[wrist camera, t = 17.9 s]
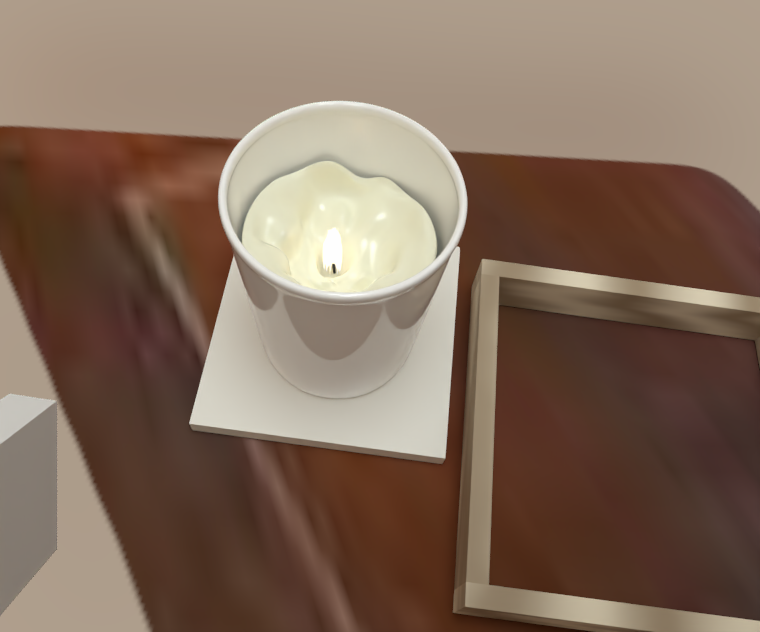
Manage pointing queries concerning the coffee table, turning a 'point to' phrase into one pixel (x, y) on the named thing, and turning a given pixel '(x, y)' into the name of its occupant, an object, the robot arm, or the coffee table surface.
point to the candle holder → (341, 239)
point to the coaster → (326, 415)
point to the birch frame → (492, 288)
